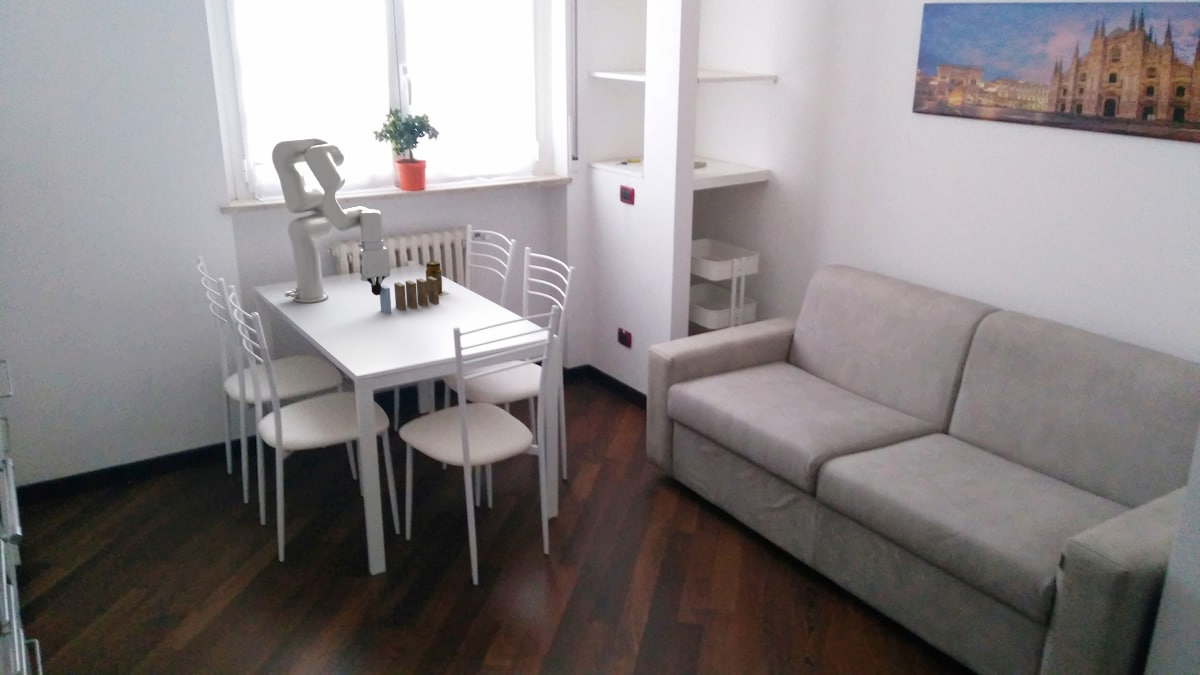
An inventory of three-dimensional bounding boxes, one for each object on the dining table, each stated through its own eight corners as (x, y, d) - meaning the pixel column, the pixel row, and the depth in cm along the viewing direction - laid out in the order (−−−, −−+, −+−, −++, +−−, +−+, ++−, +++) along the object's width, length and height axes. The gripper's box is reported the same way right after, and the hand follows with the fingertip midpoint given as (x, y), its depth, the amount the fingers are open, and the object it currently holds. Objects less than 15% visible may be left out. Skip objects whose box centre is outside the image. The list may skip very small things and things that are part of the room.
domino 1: (386, 313, 334) (385, 288, 331) (380, 310, 338) (379, 285, 335) (391, 312, 336) (389, 287, 332) (385, 309, 339) (383, 284, 336)
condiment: (438, 289, 365) (436, 259, 361) (449, 293, 359) (447, 264, 355) (421, 292, 361) (420, 262, 357) (432, 297, 355) (430, 267, 351)
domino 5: (434, 304, 346) (433, 280, 343) (428, 301, 349) (427, 277, 346) (439, 303, 347) (437, 279, 344) (432, 300, 350) (431, 276, 347)
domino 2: (401, 310, 338) (400, 286, 335) (395, 307, 342) (394, 282, 339) (406, 309, 339) (404, 285, 336) (400, 306, 343) (398, 282, 340)
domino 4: (423, 306, 343) (422, 282, 340) (417, 303, 347) (416, 279, 344) (428, 305, 344) (426, 281, 341) (422, 302, 348) (420, 278, 345)
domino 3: (413, 308, 341) (411, 284, 337) (406, 305, 344) (405, 281, 341) (417, 307, 342) (415, 283, 338) (411, 304, 345) (409, 280, 342)
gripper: (357, 249, 320) (361, 300, 326) (396, 244, 328) (400, 293, 334) (348, 245, 325) (353, 295, 331) (388, 240, 334) (391, 288, 340)
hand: (376, 294), depth 333 cm, fingers closed
